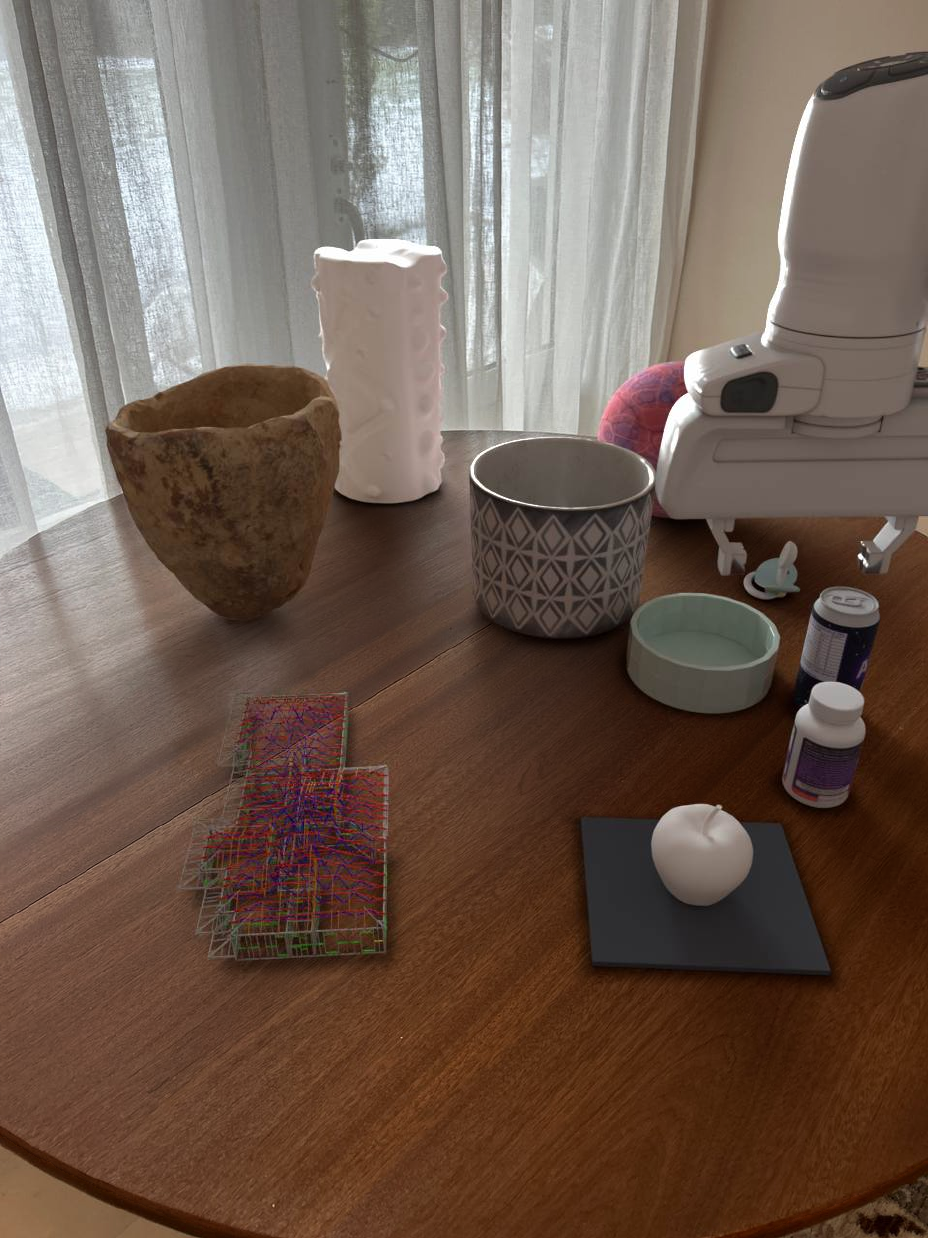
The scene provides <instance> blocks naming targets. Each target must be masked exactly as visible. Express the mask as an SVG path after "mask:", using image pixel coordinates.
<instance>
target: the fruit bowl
mask: <svg viewBox="0 0 928 1238" xmlns="http://www.w3.org/2000/svg"><path fill="white" fill-rule="evenodd" d="M628 630H629V631H628V638H627V639H628V641H627V649H626V657H625V658H626V669H627V673H628V676H629V678H630V679H631V681H632V683H633V684H634V685H635V686H636V687H637V689H639V690H640V691H641V692H642V693H644V694H645V695H646V696H648V697H650V698H652V699H653V700H656V701H658V702H659V703H661V704H664V705H666V706H668V707H669V706H670V707H672V708H675V709H678V710H681V711H686V712H692V713H698V714H728V713H733V712H739V711H742V710H746V709H748V708H751V707H752V706H755V705H756V704H758V703H759V702H761V701H762V700H763V699H764V698H765V697H766V696H767V694H768V693H769V691H770V689H771V686H772V681H773V677H774V674H775V673H774V672H775V667H776V663H777V657H778V654H779V653H778V652H779V648H780V642H781V636H780V633H779V630H778V629H777V625H775V623H774V622H773V621H772V620H771V619H770V618H769V617H767V616H766V615H765V614H764V612H761V611H760V610H758V609H756V608H754V607H753V606H751V605H749V604H747V603H744V602H741V601H738V600H735V599H732V598H730V597H727V596H721V595H716V594H710V593H703V592H678V593H672V594H663V595H660V596H657V597H655V598H652V599H650V600H647V601H645V602H644V603H642V604H641V605H640V606H639V607H637V608H636V610H635V612H634V613H633V614H632V616H631V619H630V621H629V629H628Z"/></svg>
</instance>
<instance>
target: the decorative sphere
mask: <svg viewBox="0 0 928 1238" xmlns="http://www.w3.org/2000/svg"><path fill="white" fill-rule="evenodd" d="M685 362H686V360H677V361H666V362H661V363H657V364H654V365H651V366H648V367H646V368H644V369H642V370H640V371H639V372H636V373H635V374H634V375H632V376H631V377H629V378H628V379H627V380H626V381H625V382H624V383H622V385H620V386H619V388H617V390H616V391H615V392H614V394H612V396H611V398H610V399H609V401H608V402H607V404H606V406H605V409H604V410H603V413H602V415H601V419H600V422H599V426H598V432H597V441H601V442H606V443H610V444H614V445H617V446H620V447H623V448H626V449H628V450H631V451H633V452H635V453H637V454H639V455H640V456H642V457H643V458H645V459H646V460H647V461H649V462H650V463H651V465H652V466H653V467H654V469H655V471H656V472H657V464H658V458H659V452H660V447H661V442H662V438H663V434H664V430H665V426H666V422H667V419H668V416H669V414H670V412H671V410H672V408H673V406H674V405H675V403H676V402H677V401H678V400H679V399H680V398H681V397H682V396H684V395H685V394H687V393H688V391H687V388H686V385H685V380H684V366H685ZM652 516H653V517H657V518H661V519H662V518H663V519H672V518H671V517H670V516H669V515H668V514H667V513H666V512H665V511H664V509H663V508H662V507H661V505H660V503H659V501H658V498H657V495H656V488H655V495H654V502H653V509H652ZM652 516H651V517H652Z"/></svg>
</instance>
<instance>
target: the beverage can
mask: <svg viewBox="0 0 928 1238" xmlns="http://www.w3.org/2000/svg"><path fill="white" fill-rule="evenodd" d="M879 608H880V604H879V601H878V600H877V599H876V597H875V596H874V595H872V594H871V593H869V592H867V591H864V590H861V589H858V588H855V587H850V586H833V587H832V586H831V587H828V588H826V589H823V590H822V592H820V594H819V598H818V599H816V600H815V602H814V603H813V605H812V609H811V611H810V612H811V613H810V616H809V621H808V626H807V630H806V635H805V638H804V643H803V648H802V652H801V657H800V661H799V667H798V670H797V675H796V679H795V684H794V688H793V692H792V701H793V702H794V704H795V705H796V706H797V707H798V708H799V710H800V709H801V708H802V707H803V706H804V705H806V704H808V703H809V699H810V695H811V691H812V689H813V687H814V686H815V685H816V684H819V683H822V682H839V683H843V684H846V685H849V686H851V687H853V688H855V689H856V690H858V691H859V692H860V693H861V692H862V689H863V685H864V681H865V678H866V674H867V670H868V667H869V662H870V659H871V655H872V651H873V648H874V645H875V641H876V637H877V633H878V629H879V627H880V622H881V614H880V611H879Z"/></svg>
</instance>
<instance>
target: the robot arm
mask: <svg viewBox="0 0 928 1238" xmlns="http://www.w3.org/2000/svg"><path fill="white" fill-rule="evenodd" d="M805 107H806V108H805V109H804V111H803V114H802V117H801V120H800V123H799V126H798V129H797V133H796V136H795V140H794V144H793V148H792V152H791V157H790V161H789V165H788V170H787V176H786V182H785V186H784V193H783V199H782V206H781V212H780V217H779V226H778V232H777V247H778V253H779V261H780V264H779V265H780V267H779V268H780V269H779V276H778V283H777V286H776V289H775V291H774V293H773V296H772V298H771V300H770V303H769V305H768V309H767V314H766V322H765V323H766V324H765V327H764V328H761V329H759V330H756V331H754V332H751V333H748V334H746V335H743V336H740V337H737V338H733V339H731V340H727V341H725V342H722V343H718V344H716V345H712V346H709V347H707V348H703V349H699V350H697V351H695V352H692V353H691V354H690V355H688V356H687V357H686V359H685V361H686V362H685V366H684V380H685V385H686V388H687V391H688V393H687V394H685V395H684V396H682V397H681V398H680V399H679V400H678V401H677V402H676V403H675V405H674V406H673V408H672V410H671V412H670V414H669V416H668V419H667V422H666V426H665V430H664V434H663V438H662V442H661V447H660V452H659V458H658V464H657V472H656V482H655V488H656V495H657V498H658V501H659V503H660V505H661V507H662V508H663V509H664V511H665V512H666V513H667V514H668V515H669V516H670V517H671V518H670V519H673V520H705V521H706V523H707V526H708V527H709V529H710V531H711V533H712V536H713V538H714V540H715V541H716V543H717V546H718V547H719V548H718V555H717V569H718V571H719V574H720V575H721V576H725V577H726V576H728V577H729V576H744V575H745V572H746V568H745V565H746V564H747V557H748V554H747V551H746V549H744V545H743V543H742V542H730V541H729V538H728V537H727V535H726V533H732V532H733V531H734V528H735V522H736V519H802V518H803V519H808V518H813V519H814V518H815V519H816V518H817V519H818V518H884V519H886V520H887V522H886V524H885V525H884V526H883V527H882V528H881V530H880V531H879V532H878V534H877V535H876V536H875V537H874V538H873V539H872V540H863V541H860V544H859V548H858V550H859V552H860V553H859V554H858V555H857V559H856V564H857V568H858V569H859V570H861V574H863V575H886V574H887V573H888V572H889V567H890V563H891V559H892V555H893V554H894V553H895V552H896V551H897V550H898V549H899V548H900V547H901V546H902V545H903V544H904V543H905V542H906V541H907V540H908V539H909V538H910V537H911V536H912V534H914V533H915V531H917V530H916V529H917V525H918V522H919V521H918V520H919V518H920V517H928V366H919V363H920V360H921V354H922V350H923V345H924V341H925V335H926V332H927V326H928V51H927V50H926V51H925V50H924V51H914V52H906V53H905V54H898V55H893V56H890V55H887V56H882V57H878V58H873V59H870V60H865V61H861V62H858V63H855V64H852V65H849V66H847V67H843V68H841V69H840V70H838V71H835V72H834V73H833V74H832V75H831V76H829V77H827V78H826V79H825V80H823V82H821V83H820V84H819V85H818V86H817V87H816V89H815V90H814V91H813V93H812V95H811V97H810V99H809V100H808V102H807V104H806V106H805Z"/></svg>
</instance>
